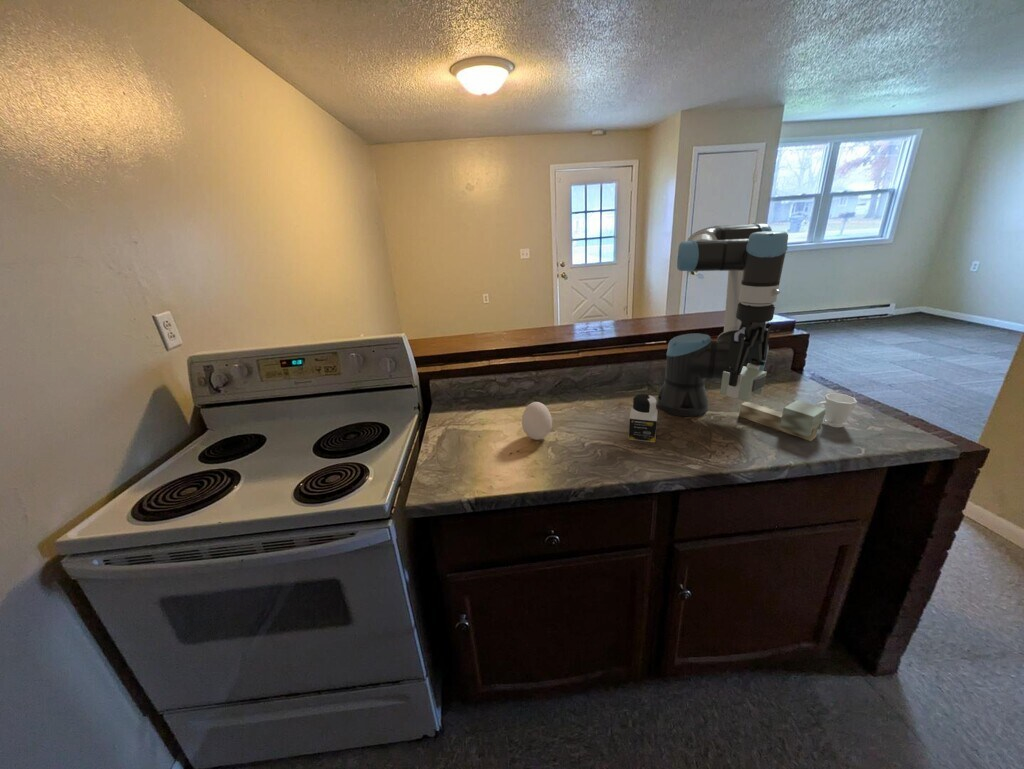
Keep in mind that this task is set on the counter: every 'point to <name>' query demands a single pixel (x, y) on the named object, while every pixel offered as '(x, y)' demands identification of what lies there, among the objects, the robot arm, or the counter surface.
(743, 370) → the block
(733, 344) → the robot arm
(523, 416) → the egg
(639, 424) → the medicine bottle
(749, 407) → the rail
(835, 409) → the cup
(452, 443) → the counter surface
